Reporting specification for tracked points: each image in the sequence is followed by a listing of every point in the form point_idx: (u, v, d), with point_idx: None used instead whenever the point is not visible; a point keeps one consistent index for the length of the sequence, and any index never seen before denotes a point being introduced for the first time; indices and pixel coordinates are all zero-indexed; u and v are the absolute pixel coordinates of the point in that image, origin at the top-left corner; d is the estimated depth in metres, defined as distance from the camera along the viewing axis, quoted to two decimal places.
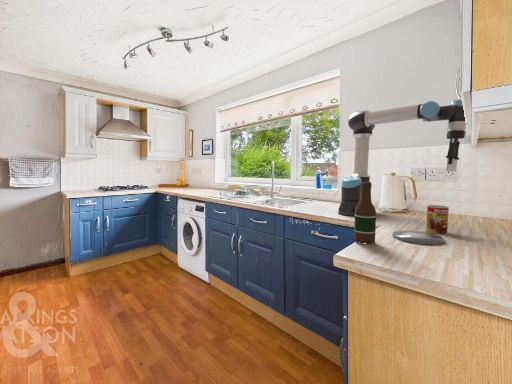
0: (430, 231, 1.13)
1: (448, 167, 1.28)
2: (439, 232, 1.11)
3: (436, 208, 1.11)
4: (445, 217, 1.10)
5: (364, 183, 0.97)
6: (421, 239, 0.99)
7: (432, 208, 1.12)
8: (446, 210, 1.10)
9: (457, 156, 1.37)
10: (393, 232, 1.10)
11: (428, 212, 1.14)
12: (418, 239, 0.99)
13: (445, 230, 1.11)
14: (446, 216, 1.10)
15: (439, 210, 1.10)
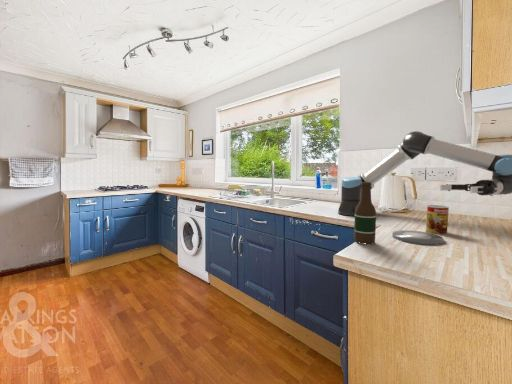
0: (430, 231, 1.13)
1: (475, 188, 1.09)
2: (439, 232, 1.11)
3: (436, 208, 1.11)
4: (445, 217, 1.10)
5: (364, 183, 0.97)
6: (421, 239, 0.99)
7: (432, 208, 1.12)
8: (446, 210, 1.10)
9: (452, 189, 1.25)
10: (393, 232, 1.10)
11: (428, 212, 1.14)
12: (418, 239, 0.99)
13: (445, 230, 1.11)
14: (446, 216, 1.10)
15: (439, 210, 1.10)
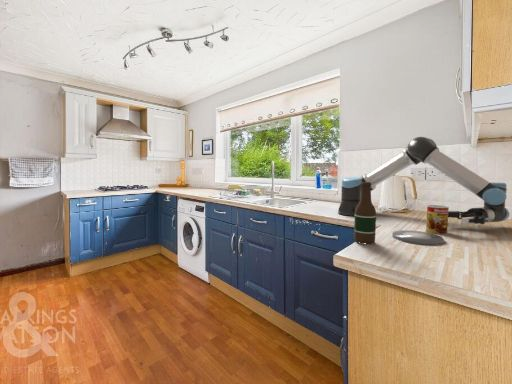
0: (430, 231, 1.13)
1: (466, 219, 1.08)
2: (439, 232, 1.11)
3: (436, 208, 1.11)
4: (445, 217, 1.10)
5: (364, 183, 0.97)
6: (421, 239, 0.99)
7: (432, 208, 1.12)
8: (446, 210, 1.10)
9: None
10: (393, 232, 1.10)
11: (428, 212, 1.14)
12: (418, 239, 0.99)
13: (445, 230, 1.11)
14: (446, 216, 1.10)
15: (439, 210, 1.10)
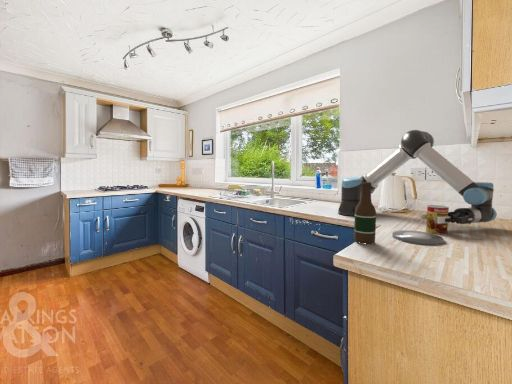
0: (430, 231, 1.13)
1: (442, 219, 1.09)
2: (439, 232, 1.11)
3: (436, 208, 1.11)
4: None
5: (364, 183, 0.97)
6: (421, 239, 0.99)
7: (432, 208, 1.12)
8: (446, 210, 1.10)
9: None
10: (393, 232, 1.10)
11: (428, 212, 1.14)
12: (418, 239, 0.99)
13: (445, 230, 1.11)
14: (446, 216, 1.10)
15: (439, 210, 1.10)
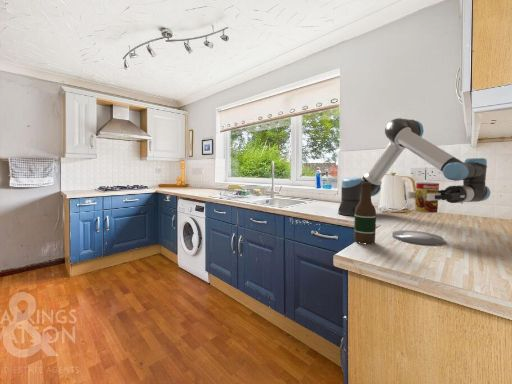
0: (419, 210, 1.04)
1: (431, 196, 0.99)
2: (429, 210, 1.01)
3: (425, 184, 1.01)
4: None
5: (364, 183, 0.97)
6: (421, 239, 0.99)
7: (421, 184, 1.02)
8: (436, 186, 1.00)
9: None
10: (393, 232, 1.10)
11: (417, 189, 1.05)
12: (418, 239, 0.99)
13: (435, 208, 1.01)
14: None
15: (429, 186, 1.01)
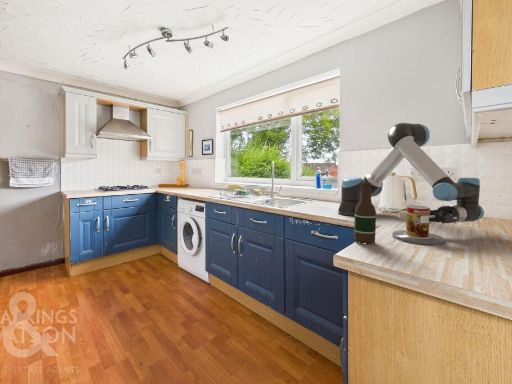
0: (410, 234, 1.03)
1: (425, 218, 0.97)
2: (419, 235, 1.01)
3: (416, 209, 1.00)
4: None
5: (364, 183, 0.97)
6: (421, 239, 0.99)
7: (412, 209, 1.02)
8: (427, 211, 1.00)
9: None
10: (393, 232, 1.10)
11: (408, 213, 1.04)
12: (418, 239, 0.99)
13: (426, 233, 1.01)
14: None
15: (419, 211, 1.00)
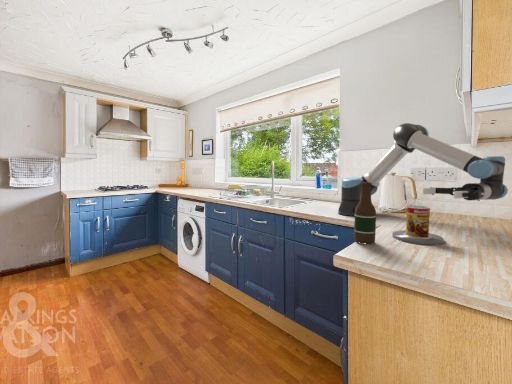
0: (410, 234, 1.03)
1: (459, 193, 0.99)
2: (419, 235, 1.01)
3: (416, 209, 1.01)
4: (426, 219, 1.00)
5: (364, 183, 0.97)
6: (421, 239, 0.99)
7: (412, 209, 1.02)
8: (426, 211, 1.00)
9: (436, 193, 1.15)
10: (393, 232, 1.10)
11: (408, 213, 1.04)
12: (418, 239, 0.99)
13: (426, 233, 1.01)
14: (427, 218, 1.00)
15: (419, 211, 1.00)
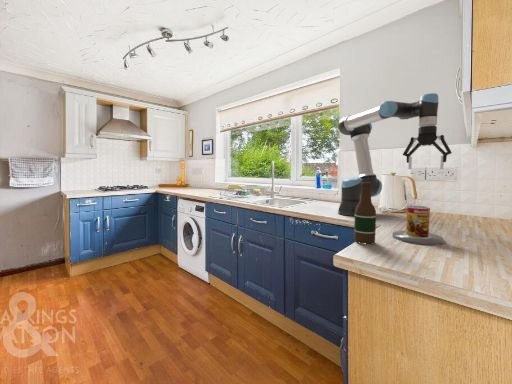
0: (410, 234, 1.03)
1: (409, 165, 1.32)
2: (419, 235, 1.01)
3: (416, 209, 1.01)
4: (426, 219, 1.00)
5: (364, 183, 0.97)
6: (421, 239, 0.99)
7: (412, 209, 1.02)
8: (426, 211, 1.00)
9: (443, 151, 1.20)
10: (393, 232, 1.10)
11: (408, 213, 1.04)
12: (418, 239, 0.99)
13: (426, 233, 1.01)
14: (427, 218, 1.00)
15: (419, 211, 1.00)
